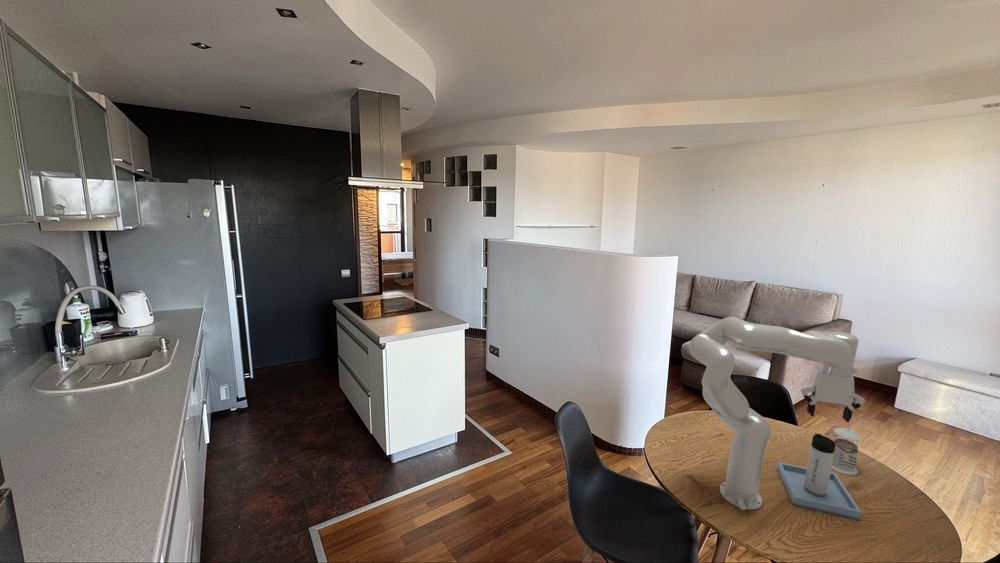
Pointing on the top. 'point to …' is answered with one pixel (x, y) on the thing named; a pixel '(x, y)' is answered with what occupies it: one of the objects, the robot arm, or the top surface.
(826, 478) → the travel mug
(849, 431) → the french press
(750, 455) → the robot arm
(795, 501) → the tray
